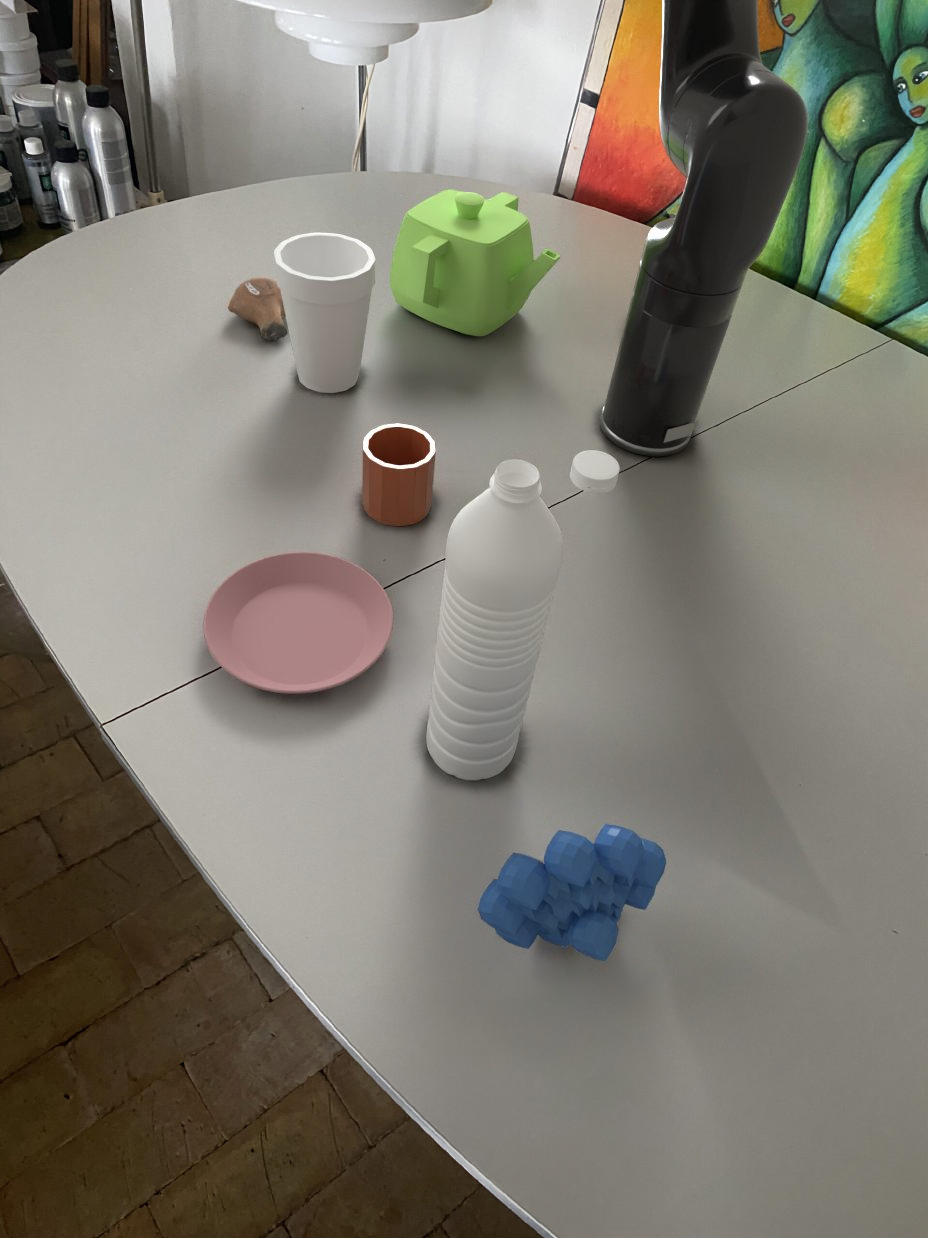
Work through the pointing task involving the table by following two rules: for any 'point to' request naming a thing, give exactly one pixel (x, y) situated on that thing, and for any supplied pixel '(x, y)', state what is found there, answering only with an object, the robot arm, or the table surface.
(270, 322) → the oil lamp
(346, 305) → the foam cup
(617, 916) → the grapes
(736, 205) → the robot arm
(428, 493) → the terracotta cup
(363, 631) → the plate
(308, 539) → the table surface
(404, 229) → the teapot
